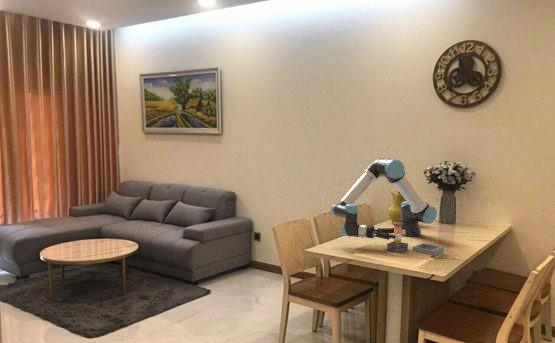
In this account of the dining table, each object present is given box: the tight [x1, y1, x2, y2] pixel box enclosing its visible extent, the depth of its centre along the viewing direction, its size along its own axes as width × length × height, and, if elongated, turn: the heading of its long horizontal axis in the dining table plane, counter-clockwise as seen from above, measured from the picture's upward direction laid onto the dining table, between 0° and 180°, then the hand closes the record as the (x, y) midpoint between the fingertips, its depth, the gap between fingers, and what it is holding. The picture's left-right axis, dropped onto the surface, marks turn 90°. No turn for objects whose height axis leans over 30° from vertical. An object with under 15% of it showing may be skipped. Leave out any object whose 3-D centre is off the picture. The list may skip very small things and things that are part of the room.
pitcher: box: [387, 191, 406, 225], centre depth 350 cm, size 17×19×25 cm
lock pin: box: [392, 222, 403, 245], centre depth 265 cm, size 6×6×16 cm
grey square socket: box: [383, 240, 412, 255], centre depth 266 cm, size 12×12×6 cm
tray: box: [411, 242, 445, 259], centre depth 264 cm, size 13×13×4 cm
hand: (403, 234), depth 264 cm, fingers open, 13 cm apart
